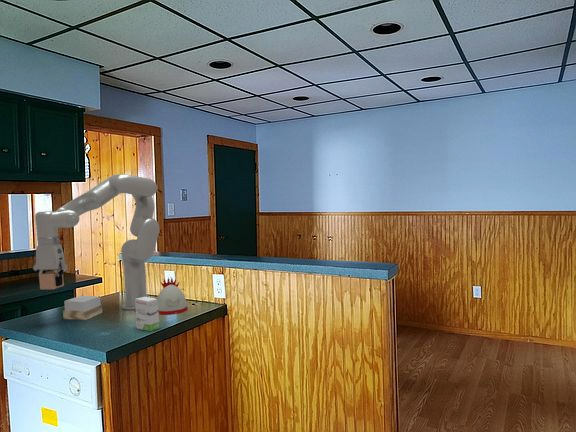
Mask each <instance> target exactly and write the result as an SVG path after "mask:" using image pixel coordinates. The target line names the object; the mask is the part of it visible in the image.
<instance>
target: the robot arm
mask: <svg viewBox="0 0 576 432" xmlns="http://www.w3.org/2000/svg"><path fill="white" fill-rule="evenodd" d="M157 191H158V186H157V183H156V182H155V180H153V179H151V178H148V177H143V176H138V175H137V176H136V175H131V174H126V173H122V174H121V173H119V174H113V175H110V176H108V178H106V179H103V181H101V182H99V183H98V184H97V185H96V186H94V187H92V188H91V189H89V190H87V191H85V192H84V193H82V194H81V195H79V196H77V197H76V198H74V199H72V200H70V201H68V202H67V203H65V204H63V205H62V206H61V207H59V208H58V209H56V210H55V211H52V210H51V211H50V210H48V211H47V210H46V211H38V212H36V213H35V215H34V217H35V219H34V220H35V229H36V241H37V243H36V244H37V246H36V249H35V250H36V251H35V264H34V265H33V266H32V269H33V270H34V271H35V272H36V274H37V275H38V276H39V275H40V274H43V273H46V272H48V271H54V272H55V274H56V277H55V280H56V286H60V285H63V281H64V279H63V280H62V275H63V276H64V274H65V272H66V271H67V270H68V268H69V266H68V264H67V263H66V259H65V254H64V250H63V247H62V244H60V242H61V239H60V238H59V228H61V229H62V228H68V229H69V228H73V227H75V226H77V225H78V224H79V222H80V216H82V215H83V214H85V213H88V212H90V211H93V210H94V211H95V210H98V209H99V208H101V207H103V206H104V205H106V204H107V203H109V202H110V201H112V200H113V199H114V198H116V197H117V196H119V195H120V194H128V195H131V196H132V197H133V199H134V201H135V208H134V213H133V216H132V220H131V224H130V226H129V230H130V231H129V232H130V233H131V235H133V236H134V237H137V238H136V239H128V240H126V241H125V242H124V243H123V244H122V246H121V249H120V251H121V252H120V253H121V259H122V263H123V276H124V277H123V278H124V299H125V302H124V303H123V304H122V305H121V308H122V309H123V310H128V311H130V310H131V311H133V310H135V311H136V307H135V299H136V298H141V297H150V296H149V295H148V294H147V273H146V272H147V271H146V263H145V262H147V261H149V260H150V259H151V258H152V257H153V255H154V253H155V250H156V247H157V246H156V245H157V243H158V238H159V234H160V225H159V223H158V221H157V220H156V219H155V218H153V216H154V213H155V202H154V198H153V196H155V195H156V194H157ZM58 271H59V272H58Z"/></svg>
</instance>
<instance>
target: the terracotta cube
mask: <svg viewBox="0 0 576 432" xmlns="http://www.w3.org/2000/svg"><path fill="white" fill-rule="evenodd" d="M58 272H59V271H58ZM55 277H56V274H55V272H54V270H52V271H47V272H46V273H43V274H40V275H39V274H38V280H39V289H40V290H55V289H58V288H61V287H64V286H65V283H64V282H65V281H64V274H63V275H62V280H63V285H60V286H56V280H55Z"/></svg>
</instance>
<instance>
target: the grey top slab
mask: <svg viewBox="0 0 576 432" xmlns="http://www.w3.org/2000/svg"><path fill="white" fill-rule="evenodd" d="M63 302H64V310H69V311H86V310H89V309H92V308H95V307H97V306H100V305H102V304H101V295H99V296H93V295H79V296H77V297H72V298H70V299H66V300H64V301H63Z"/></svg>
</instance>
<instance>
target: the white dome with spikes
mask: <svg viewBox="0 0 576 432" xmlns="http://www.w3.org/2000/svg"><path fill="white" fill-rule="evenodd" d="M166 281H167V282H166ZM176 282H177V279H174V280H173V277H171V278H169V277H168V278H167V280H166V279H165V278H163V282H162V281H160V284H161V286H162V287H163V288H162V289H161V290H160V292H159V294H157V298H156V299H158V311H159V316H160V315H161V316H170V315H171V316H172V315H178V314H182V313H184V312H187V311H188V302H187V299H186V297H185V294H184V293H183V291H182V290H181V288H180V287H179V285H180V281H178V282H177V283H176Z"/></svg>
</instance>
